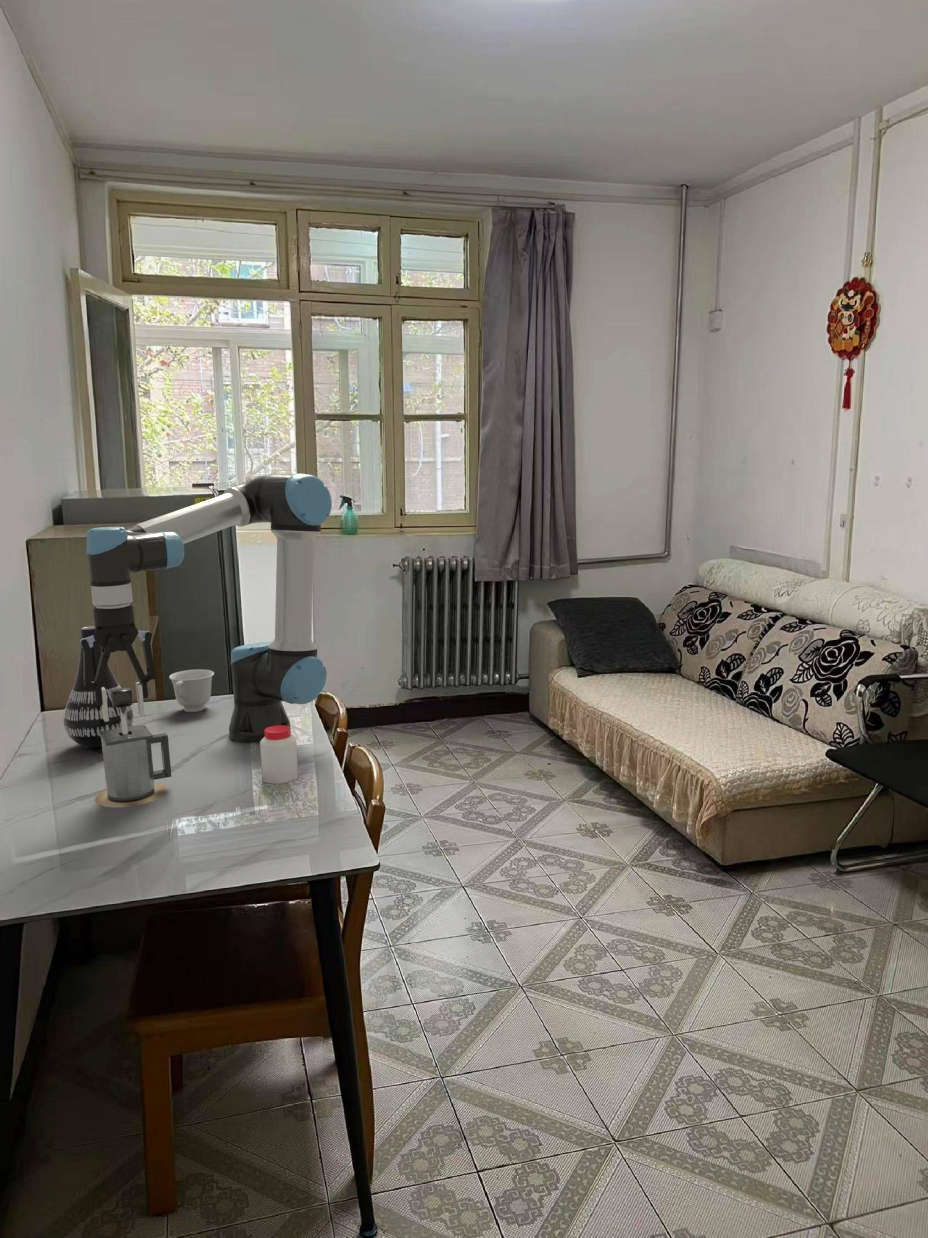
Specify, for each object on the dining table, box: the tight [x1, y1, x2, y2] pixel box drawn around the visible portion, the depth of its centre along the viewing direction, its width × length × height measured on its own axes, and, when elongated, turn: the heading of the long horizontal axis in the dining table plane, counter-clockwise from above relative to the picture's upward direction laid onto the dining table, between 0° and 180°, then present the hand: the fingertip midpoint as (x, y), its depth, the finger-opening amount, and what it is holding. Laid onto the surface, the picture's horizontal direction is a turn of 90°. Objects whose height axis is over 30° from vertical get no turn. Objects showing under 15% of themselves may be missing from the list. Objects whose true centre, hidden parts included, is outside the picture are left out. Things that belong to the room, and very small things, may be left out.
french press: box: [99, 724, 172, 803], centre depth 190 cm, size 13×9×13 cm
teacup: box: [168, 668, 215, 713], centre depth 254 cm, size 12×15×10 cm
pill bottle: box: [259, 725, 299, 785], centre depth 200 cm, size 8×8×11 cm
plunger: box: [111, 687, 134, 735], centre depth 188 cm, size 7×7×19 cm
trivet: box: [94, 782, 168, 808], centre depth 191 cm, size 14×14×1 cm
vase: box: [63, 625, 134, 751], centre depth 224 cm, size 16×16×30 cm
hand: (123, 716), depth 188 cm, fingers open, 6 cm apart
